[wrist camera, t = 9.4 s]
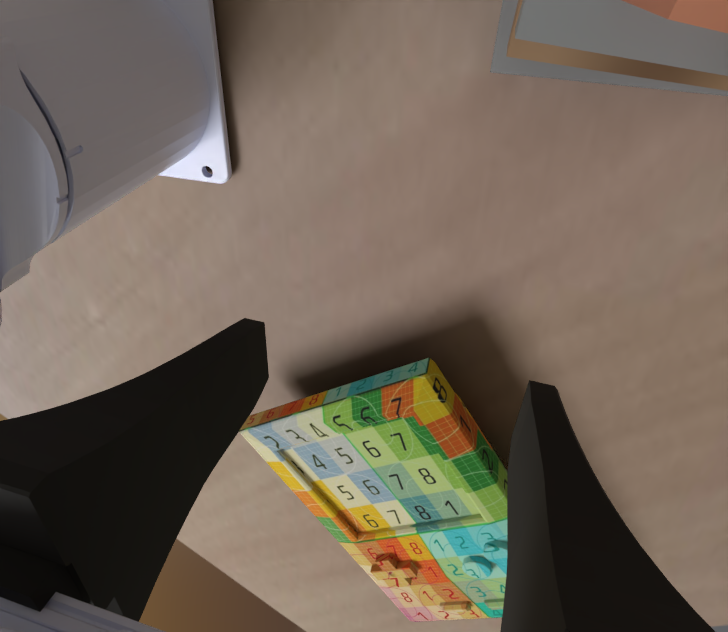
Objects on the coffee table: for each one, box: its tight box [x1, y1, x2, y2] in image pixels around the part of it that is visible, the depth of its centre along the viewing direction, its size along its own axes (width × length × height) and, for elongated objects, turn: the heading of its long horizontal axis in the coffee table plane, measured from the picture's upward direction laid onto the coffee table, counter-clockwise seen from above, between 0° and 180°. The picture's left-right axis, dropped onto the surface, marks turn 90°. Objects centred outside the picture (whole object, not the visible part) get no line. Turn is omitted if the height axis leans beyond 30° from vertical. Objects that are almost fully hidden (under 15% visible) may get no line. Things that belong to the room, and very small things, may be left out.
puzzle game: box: [239, 357, 508, 622], centre depth 30 cm, size 12×5×20 cm
